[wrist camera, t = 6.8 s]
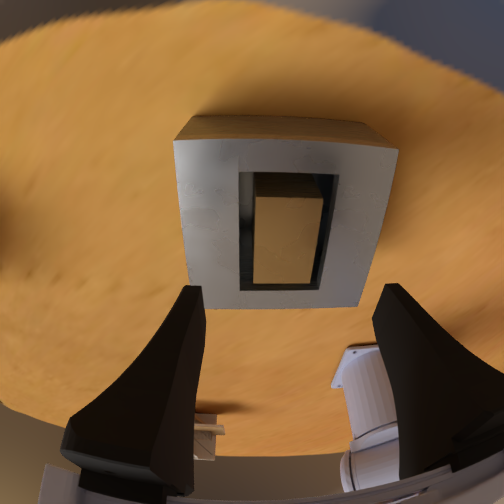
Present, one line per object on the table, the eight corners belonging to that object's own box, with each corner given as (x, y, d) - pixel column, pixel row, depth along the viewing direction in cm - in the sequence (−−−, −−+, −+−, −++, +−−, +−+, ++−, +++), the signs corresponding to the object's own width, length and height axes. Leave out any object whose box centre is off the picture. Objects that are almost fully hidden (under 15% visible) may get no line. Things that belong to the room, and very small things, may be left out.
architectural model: (171, 399, 37) (165, 449, 31) (224, 402, 37) (222, 454, 31) (176, 409, 39) (171, 457, 33) (225, 412, 39) (224, 460, 33)
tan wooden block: (304, 160, 18) (323, 198, 14) (297, 232, 21) (309, 283, 16) (253, 158, 17) (255, 197, 13) (251, 231, 20) (253, 283, 16)
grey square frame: (363, 122, 17) (398, 149, 13) (339, 257, 22) (357, 306, 18) (192, 116, 16) (173, 140, 12) (202, 257, 22) (193, 308, 18)
